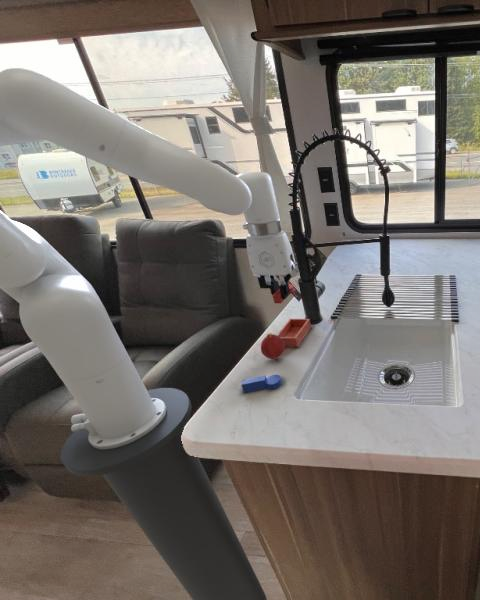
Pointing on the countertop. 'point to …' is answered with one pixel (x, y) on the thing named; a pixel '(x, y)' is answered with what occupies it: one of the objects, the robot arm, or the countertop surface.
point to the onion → (272, 346)
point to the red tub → (294, 332)
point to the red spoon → (278, 296)
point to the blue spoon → (261, 383)
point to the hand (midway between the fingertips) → (281, 296)
